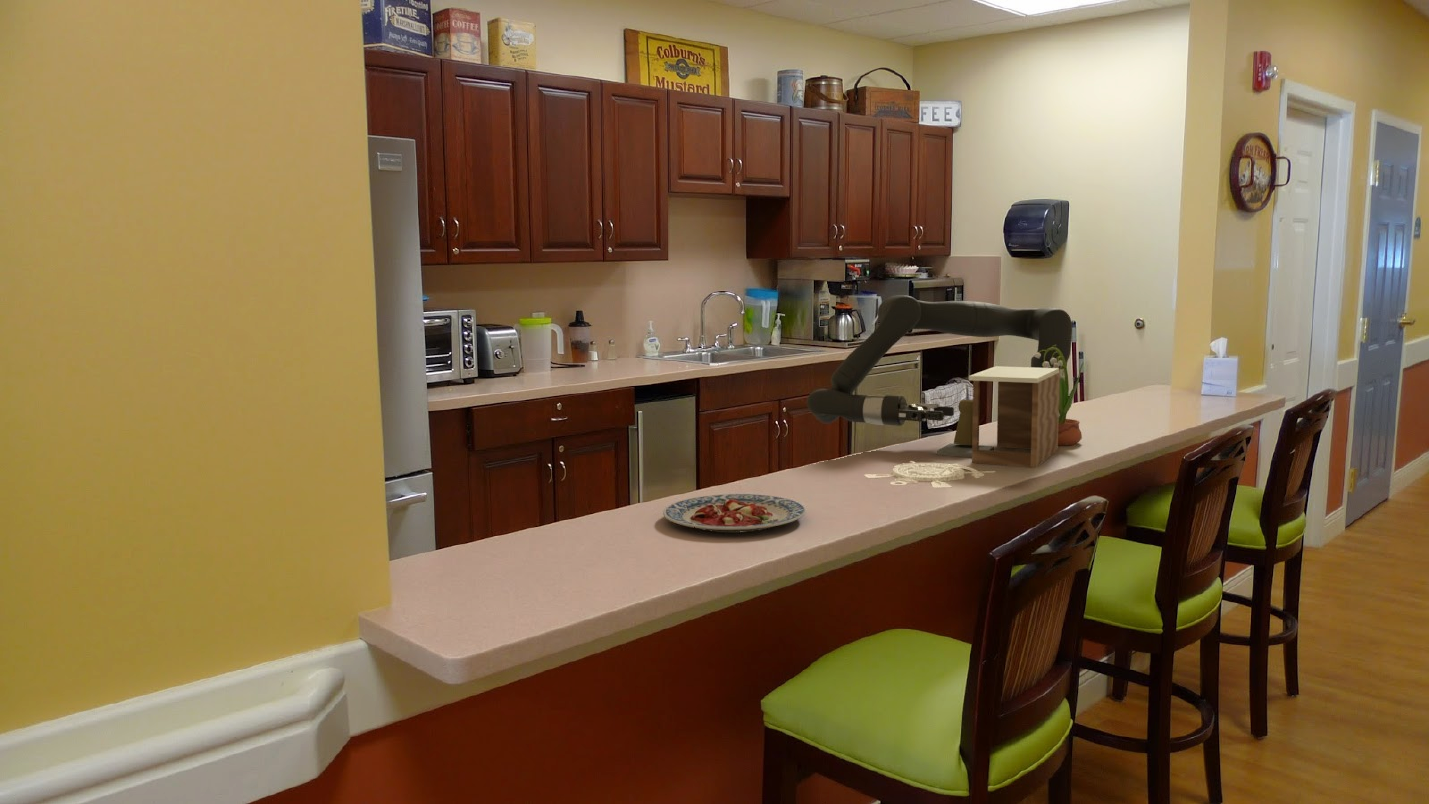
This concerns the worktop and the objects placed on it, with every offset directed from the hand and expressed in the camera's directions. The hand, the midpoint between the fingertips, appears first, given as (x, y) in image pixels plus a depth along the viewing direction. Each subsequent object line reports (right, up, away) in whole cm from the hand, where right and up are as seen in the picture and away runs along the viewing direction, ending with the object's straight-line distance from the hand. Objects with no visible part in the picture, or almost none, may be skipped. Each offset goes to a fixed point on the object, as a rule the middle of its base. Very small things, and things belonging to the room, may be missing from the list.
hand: (948, 413), depth 248 cm
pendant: (-10, -14, -25) cm, 30 cm away
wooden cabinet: (+15, -10, -7) cm, 19 cm away
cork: (+5, -8, +2) cm, 9 cm away
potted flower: (+30, -8, +10) cm, 32 cm away
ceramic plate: (-53, -19, -63) cm, 85 cm away
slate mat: (+4, -9, -1) cm, 10 cm away
